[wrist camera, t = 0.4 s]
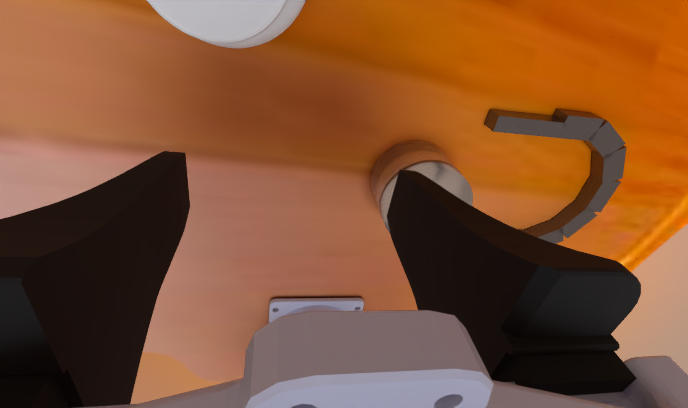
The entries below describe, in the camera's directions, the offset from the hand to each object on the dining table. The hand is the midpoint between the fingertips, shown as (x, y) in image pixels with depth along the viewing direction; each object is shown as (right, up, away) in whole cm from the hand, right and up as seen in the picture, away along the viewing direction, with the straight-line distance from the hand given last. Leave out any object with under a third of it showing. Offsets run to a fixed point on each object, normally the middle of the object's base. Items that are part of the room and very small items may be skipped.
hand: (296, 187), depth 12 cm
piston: (+6, +1, +12) cm, 14 cm away
